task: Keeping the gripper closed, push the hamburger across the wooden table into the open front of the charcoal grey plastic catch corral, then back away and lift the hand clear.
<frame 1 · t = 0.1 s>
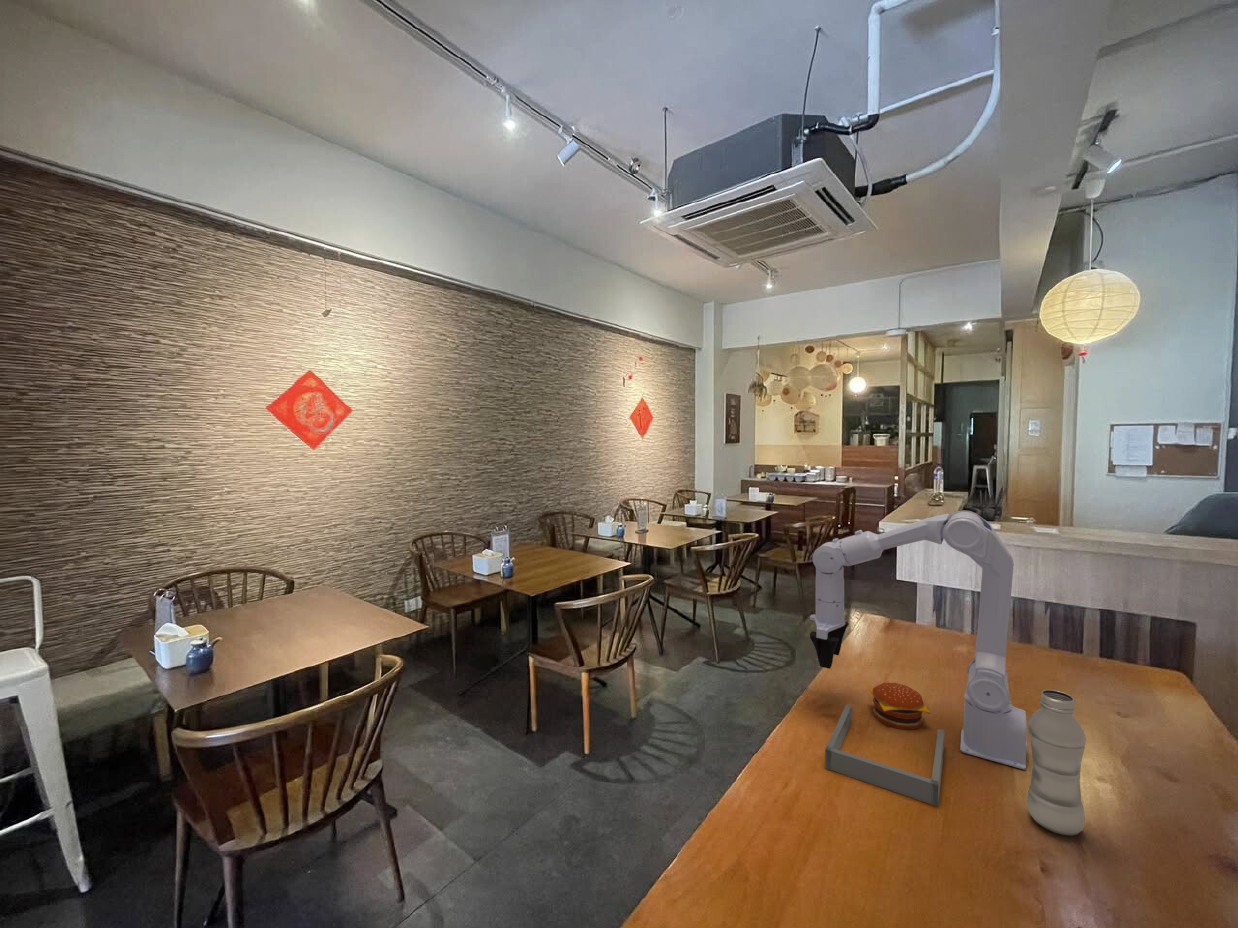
hand: (829, 660, 110), 10 cm above the table, tool pointing down, fingers open, 7 cm apart
plastic bottle: (1054, 826, 76), on the table
hamburger: (897, 718, 105), on the table
catch corral: (886, 757, 92), on the table
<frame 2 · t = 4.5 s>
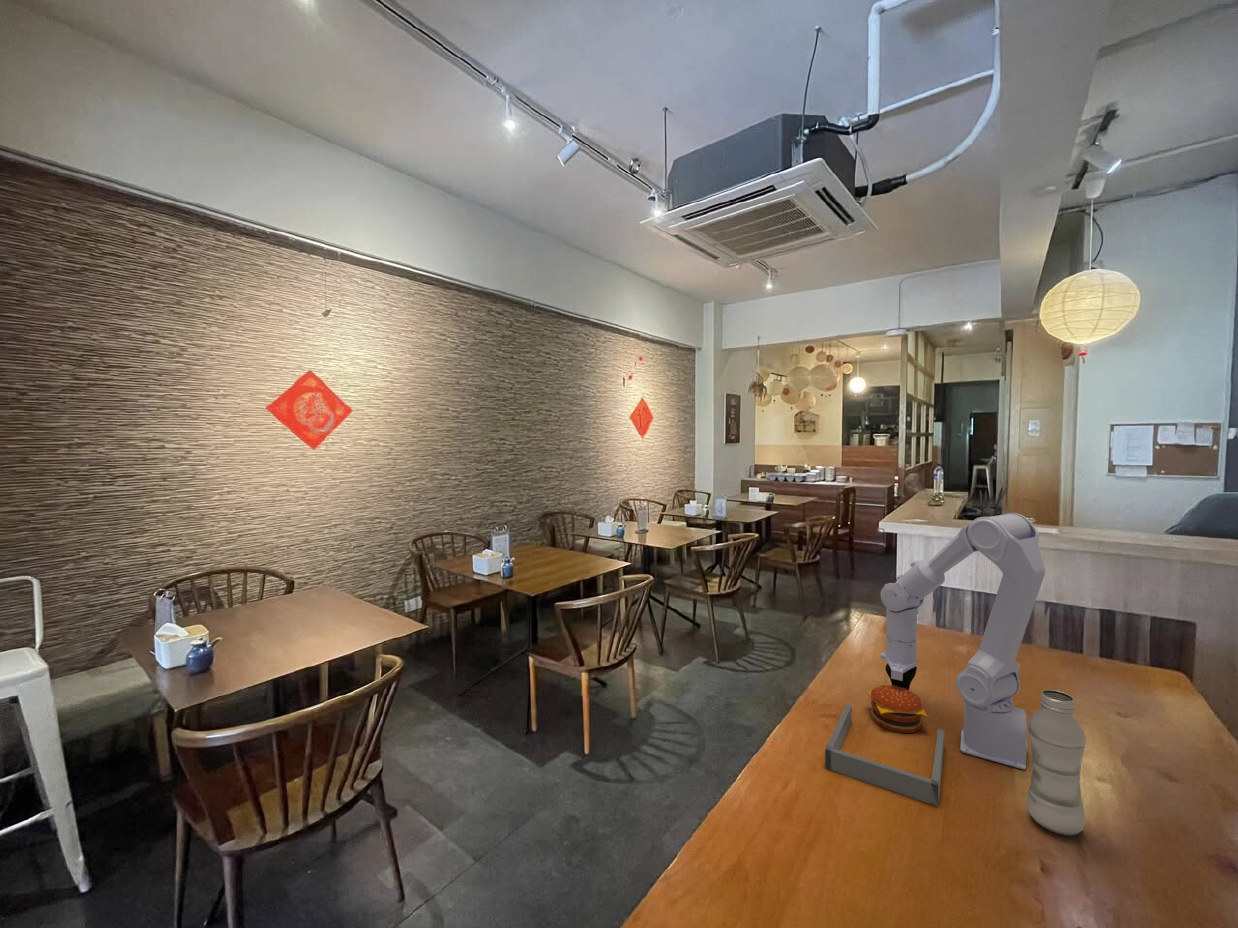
hand: (900, 699, 110), 1 cm above the table, tool pointing down, fingers closed
hamburger: (895, 721, 104), on the table, touching gripper
everything else where it was.
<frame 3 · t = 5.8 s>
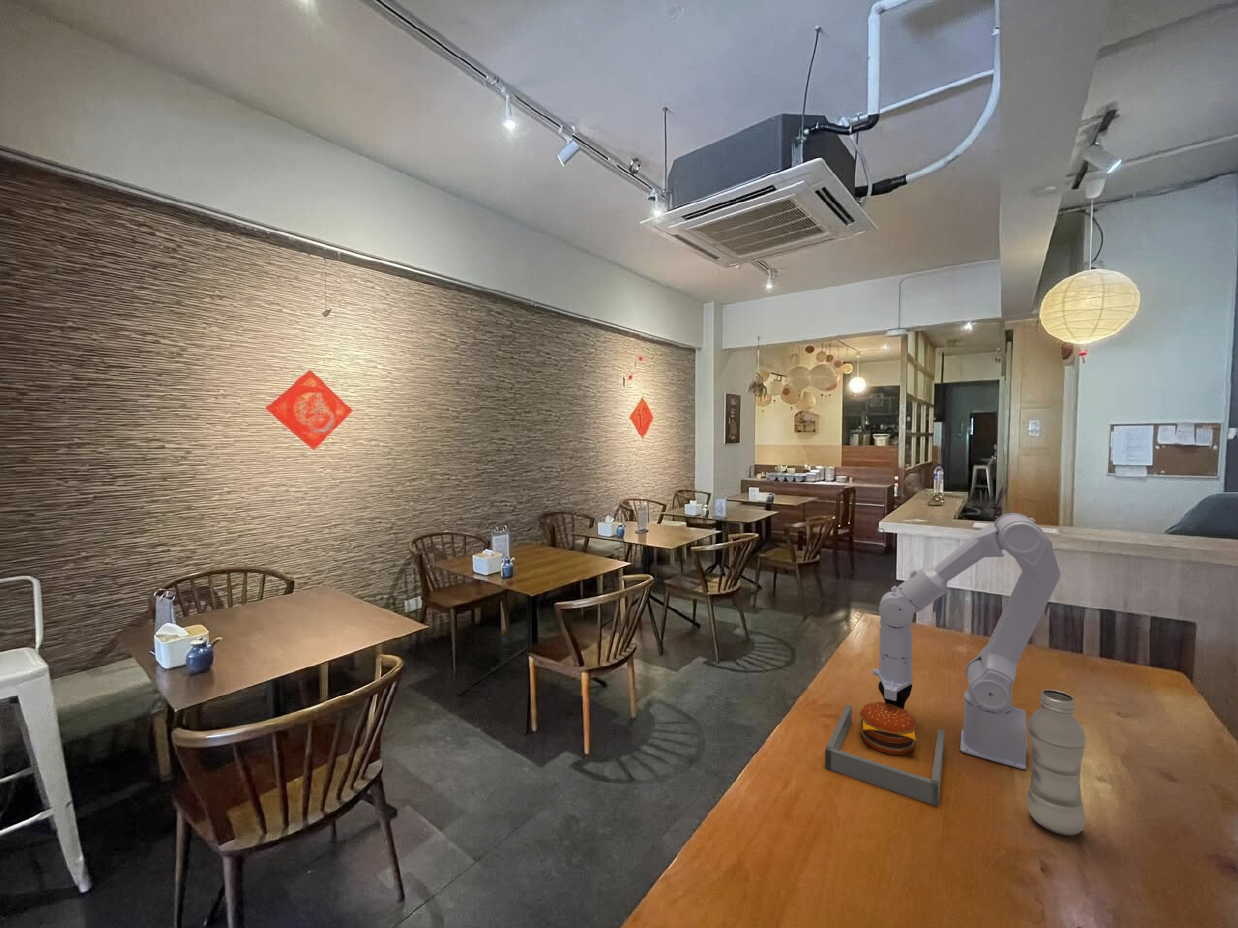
hand: (894, 719, 102), 2 cm above the table, tool pointing down, fingers closed
hamburger: (887, 741, 97), on the table, touching gripper
everything else where it was.
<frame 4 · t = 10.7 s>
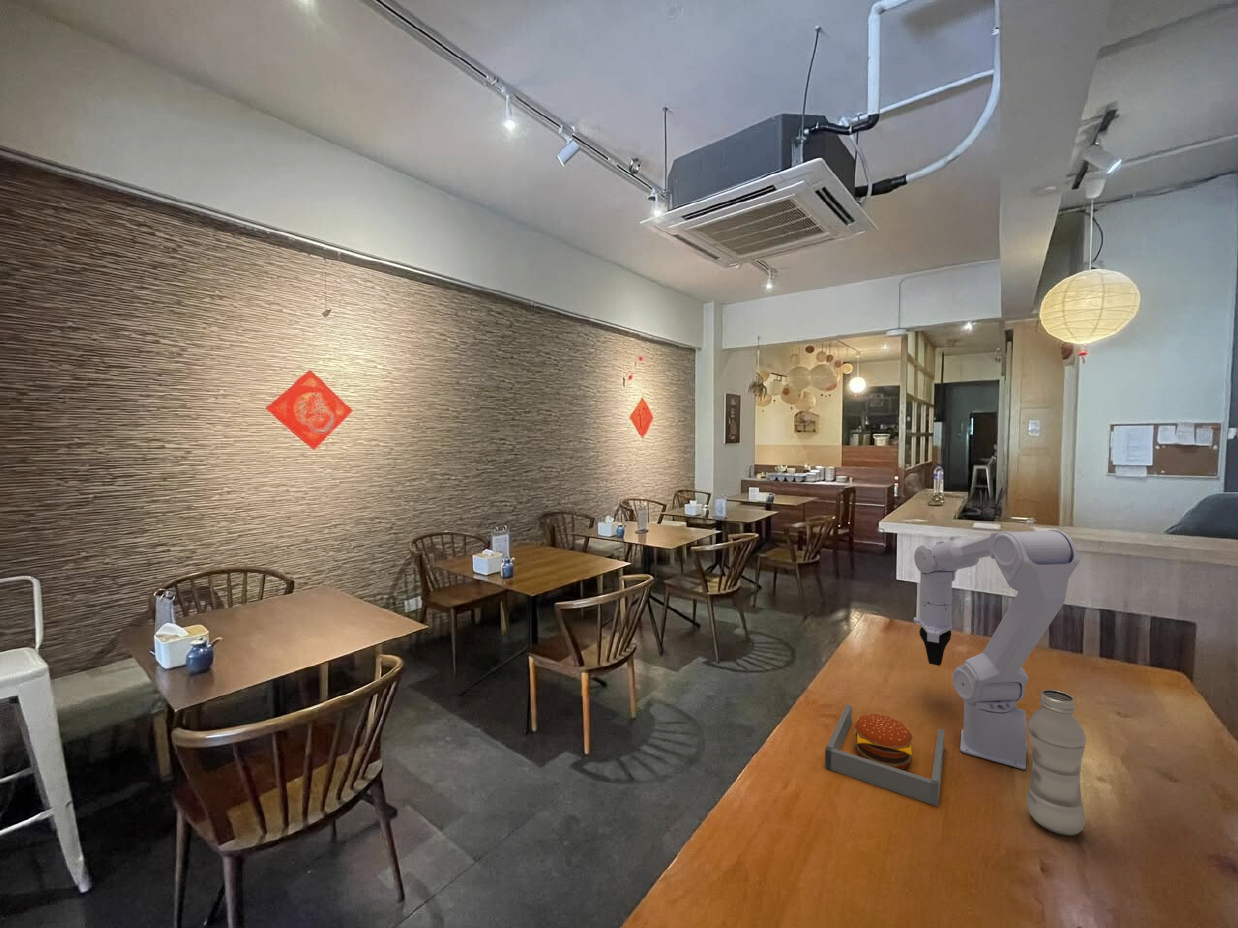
hand: (934, 663, 109), 9 cm above the table, tool pointing down, fingers closed
hamburger: (883, 755, 93), on the table
everything else where it was.
at the end: hamburger inside the target area on the catch corral (1.0 cm from its centre), point 0.0 cm above the catch corral's base; hamburger tilted 0°; plastic bottle moved 0.2 cm from its start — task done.
